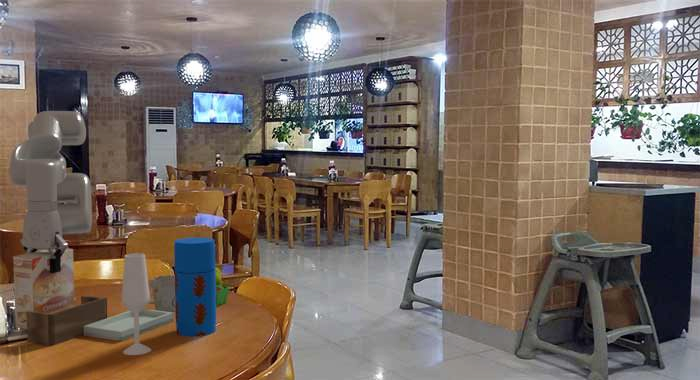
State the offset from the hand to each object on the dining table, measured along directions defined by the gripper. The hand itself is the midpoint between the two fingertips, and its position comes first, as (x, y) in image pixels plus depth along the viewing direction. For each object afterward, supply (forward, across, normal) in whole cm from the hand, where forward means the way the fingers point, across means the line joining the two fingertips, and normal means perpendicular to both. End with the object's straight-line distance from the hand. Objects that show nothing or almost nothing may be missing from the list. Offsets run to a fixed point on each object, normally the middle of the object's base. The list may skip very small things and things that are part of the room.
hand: (44, 270), depth 183 cm
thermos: (+16, +39, +15) cm, 45 cm away
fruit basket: (+17, +24, +43) cm, 52 cm away
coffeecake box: (+15, 0, 0) cm, 15 cm away
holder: (+16, +9, -1) cm, 19 cm away
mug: (+17, +15, +29) cm, 37 cm away
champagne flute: (+16, +36, -5) cm, 39 cm away
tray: (+16, +20, +10) cm, 28 cm away
